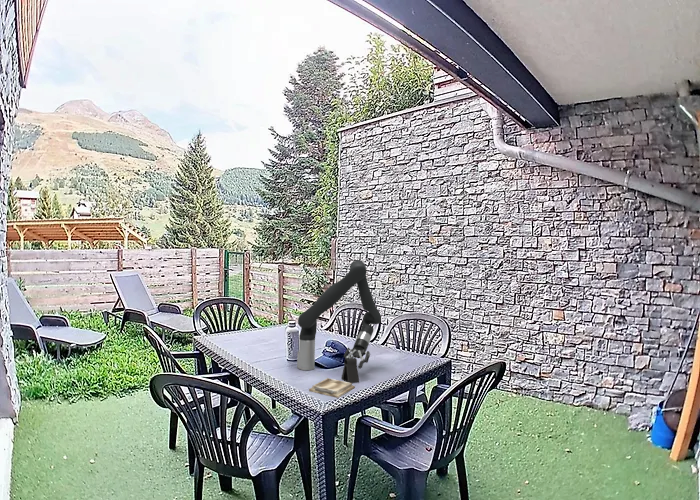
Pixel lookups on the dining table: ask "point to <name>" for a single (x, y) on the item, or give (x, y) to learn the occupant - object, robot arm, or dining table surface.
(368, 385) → the dining table surface
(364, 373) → the dining table surface
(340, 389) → the spacer board
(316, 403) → the dining table surface
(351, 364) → the black tent sign
